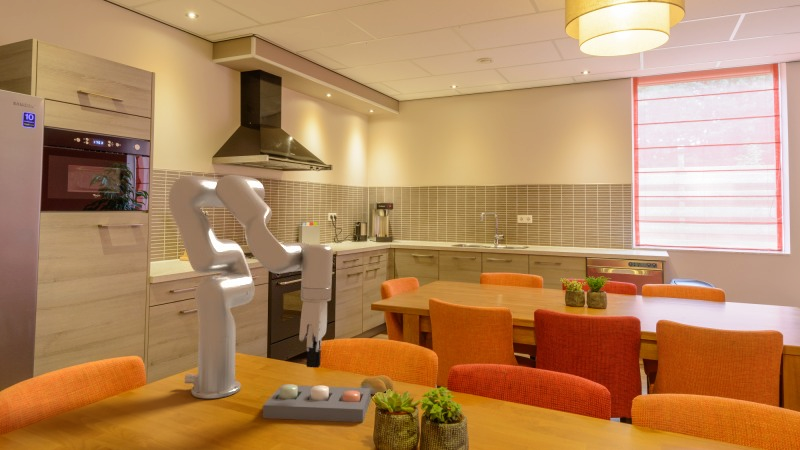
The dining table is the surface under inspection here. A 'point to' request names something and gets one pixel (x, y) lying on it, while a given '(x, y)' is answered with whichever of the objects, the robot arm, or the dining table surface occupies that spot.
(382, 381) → the bread roll
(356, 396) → the terracotta button
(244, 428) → the dining table surface
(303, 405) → the button panel
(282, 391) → the sage button
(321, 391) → the white button
